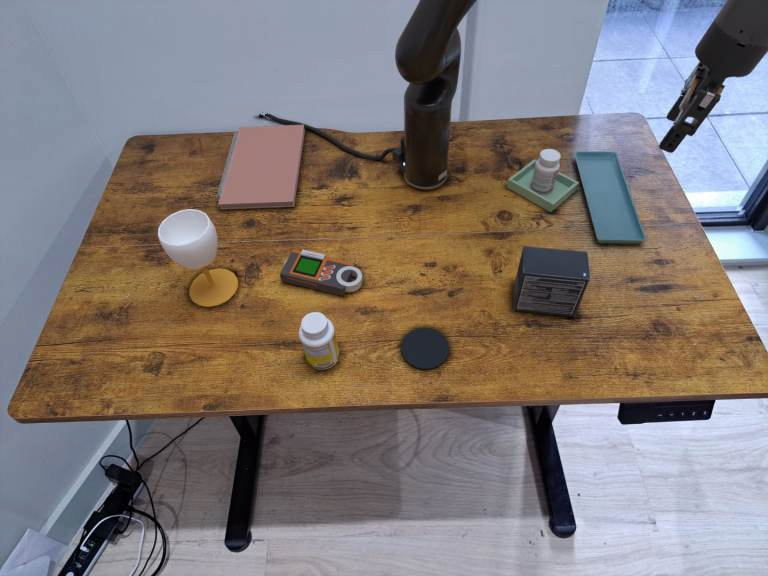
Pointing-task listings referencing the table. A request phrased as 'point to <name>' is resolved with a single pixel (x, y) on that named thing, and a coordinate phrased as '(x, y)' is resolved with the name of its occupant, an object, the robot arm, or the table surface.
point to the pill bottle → (545, 171)
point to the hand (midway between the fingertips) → (668, 134)
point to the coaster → (425, 348)
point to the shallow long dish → (609, 198)
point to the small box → (551, 281)
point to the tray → (547, 201)
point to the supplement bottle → (319, 341)
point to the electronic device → (320, 272)
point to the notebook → (262, 168)
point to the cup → (197, 255)
